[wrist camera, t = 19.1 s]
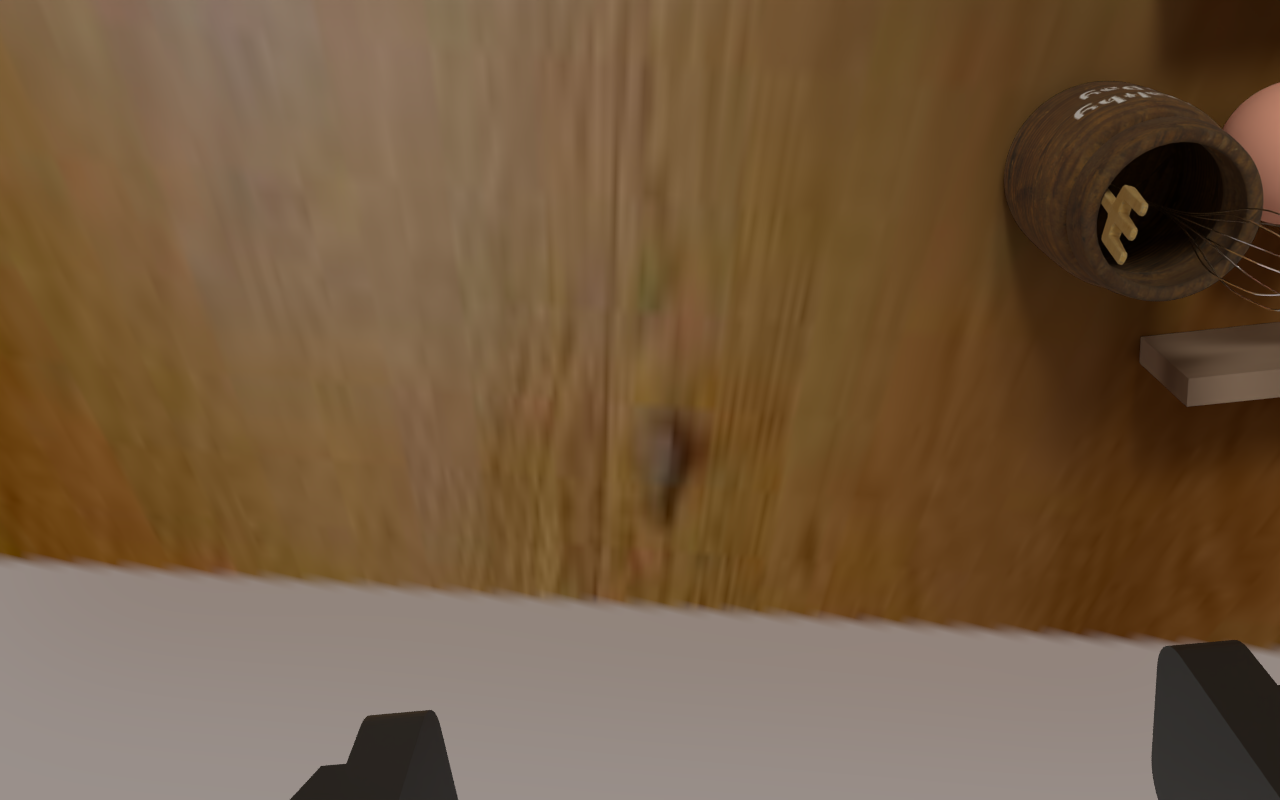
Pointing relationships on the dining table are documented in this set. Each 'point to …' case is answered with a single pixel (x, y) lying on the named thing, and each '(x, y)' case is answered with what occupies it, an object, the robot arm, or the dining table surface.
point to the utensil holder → (1135, 191)
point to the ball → (1261, 142)
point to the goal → (1216, 363)
